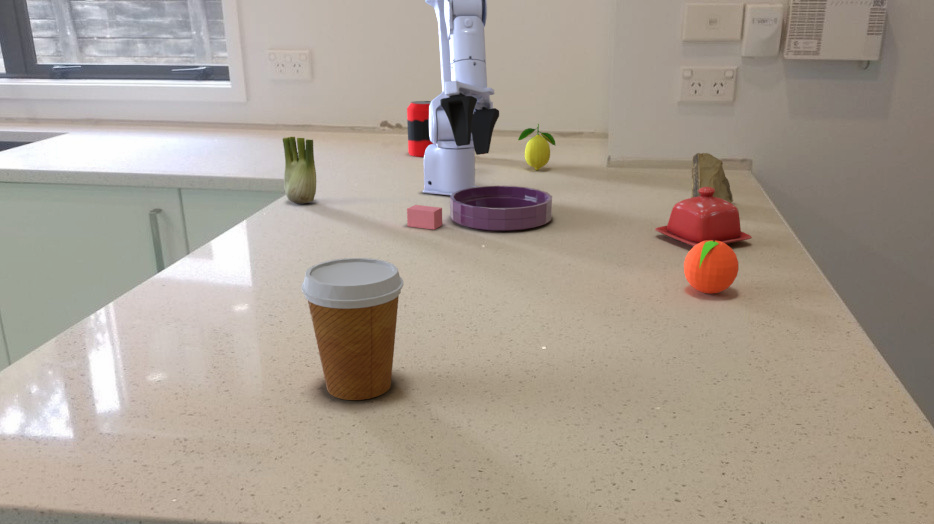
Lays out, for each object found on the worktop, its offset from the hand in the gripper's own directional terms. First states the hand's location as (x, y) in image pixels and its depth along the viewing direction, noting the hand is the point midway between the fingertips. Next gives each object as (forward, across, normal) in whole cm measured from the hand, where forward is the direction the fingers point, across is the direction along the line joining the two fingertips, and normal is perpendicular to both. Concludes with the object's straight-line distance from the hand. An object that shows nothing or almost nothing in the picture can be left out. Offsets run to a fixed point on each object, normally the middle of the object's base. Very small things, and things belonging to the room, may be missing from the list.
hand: (472, 149), depth 135 cm
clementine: (+26, -13, -38) cm, 48 cm away
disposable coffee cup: (+34, -53, -9) cm, 64 cm away
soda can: (-13, +55, +36) cm, 67 cm away
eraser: (+11, 0, +10) cm, 15 cm away
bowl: (+10, +9, -1) cm, 14 cm away
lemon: (-5, +49, +6) cm, 49 cm away
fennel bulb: (+4, +5, +37) cm, 37 cm away
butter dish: (+17, +11, -34) cm, 40 cm away
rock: (+9, +33, -33) cm, 47 cm away
